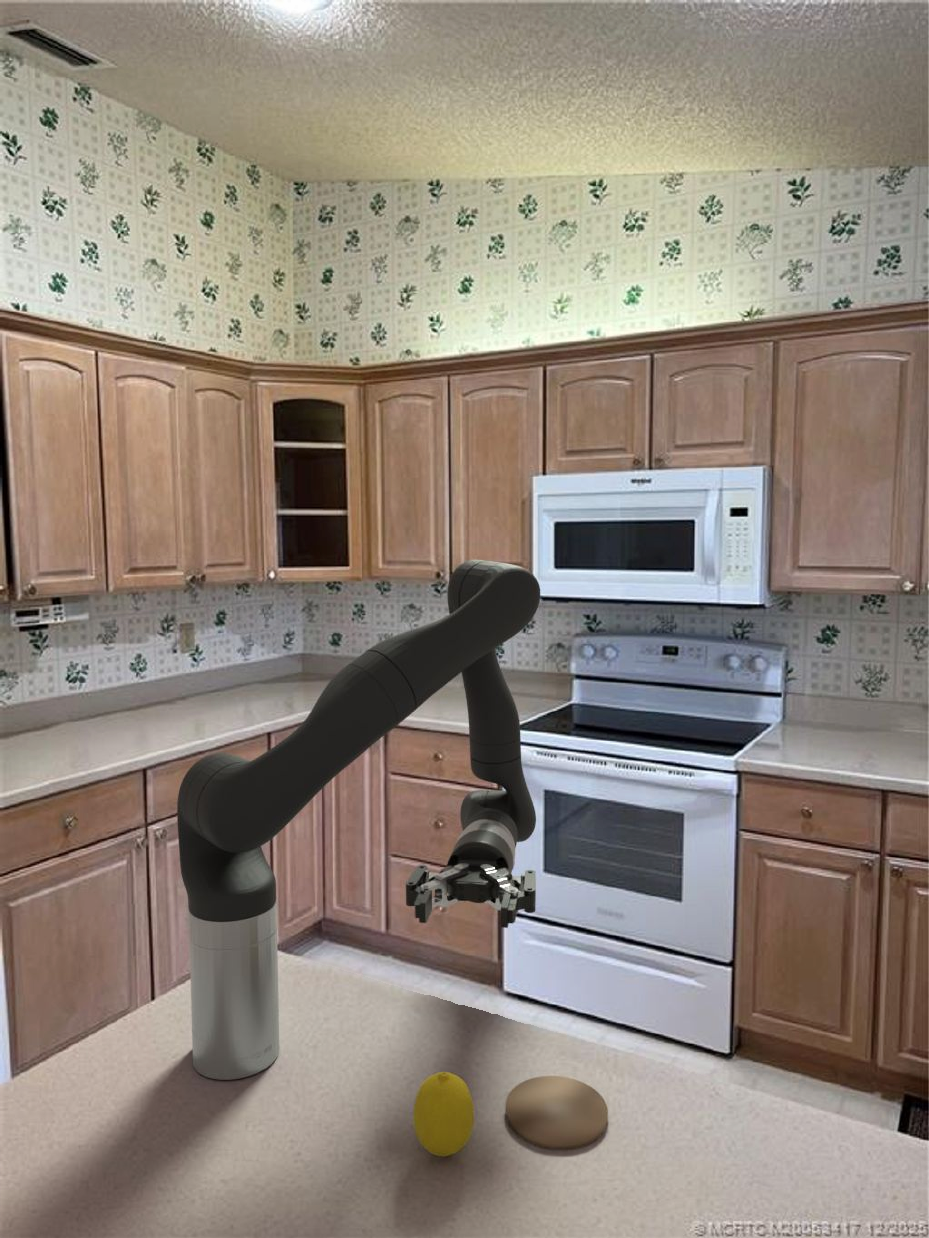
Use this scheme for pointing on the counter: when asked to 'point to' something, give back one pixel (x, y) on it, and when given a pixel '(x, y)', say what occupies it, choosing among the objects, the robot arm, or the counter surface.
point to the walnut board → (556, 1112)
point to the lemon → (443, 1114)
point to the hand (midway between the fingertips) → (463, 916)
